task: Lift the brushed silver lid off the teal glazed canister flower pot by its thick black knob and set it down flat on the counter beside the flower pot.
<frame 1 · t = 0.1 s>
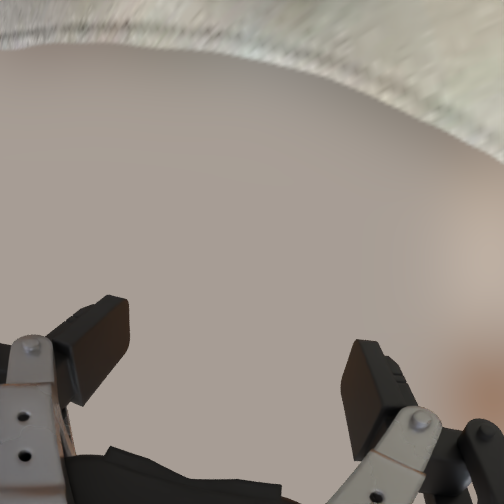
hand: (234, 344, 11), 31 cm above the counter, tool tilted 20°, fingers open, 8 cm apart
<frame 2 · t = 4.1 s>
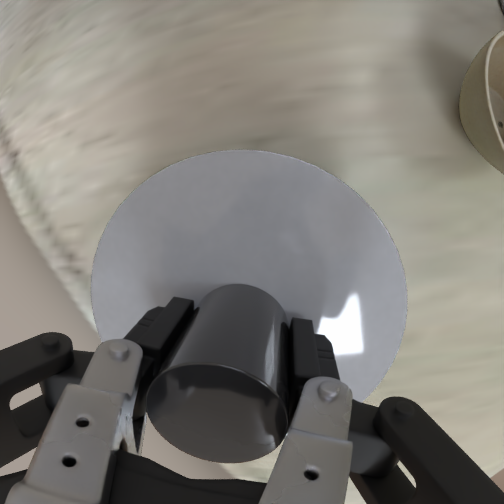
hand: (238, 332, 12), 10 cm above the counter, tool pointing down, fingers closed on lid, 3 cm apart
lid: (242, 321, 12), point 10 cm above the counter, touching canister, gripper
flower pot: (483, 119, 17), on the counter
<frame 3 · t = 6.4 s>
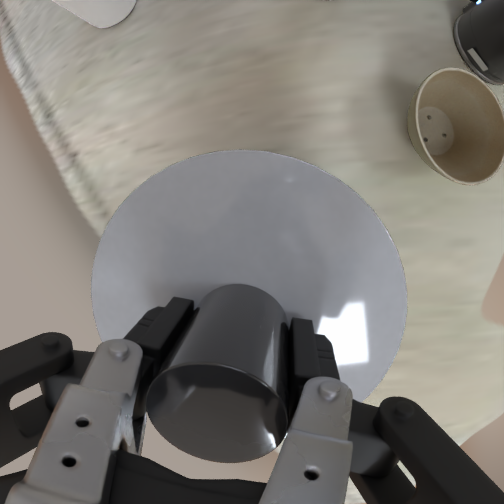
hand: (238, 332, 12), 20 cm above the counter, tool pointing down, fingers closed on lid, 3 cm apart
lid: (242, 321, 12), point 19 cm above the counter, touching gripper
flower pot: (430, 132, 27), on the counter
can: (114, 7, 26), on the counter
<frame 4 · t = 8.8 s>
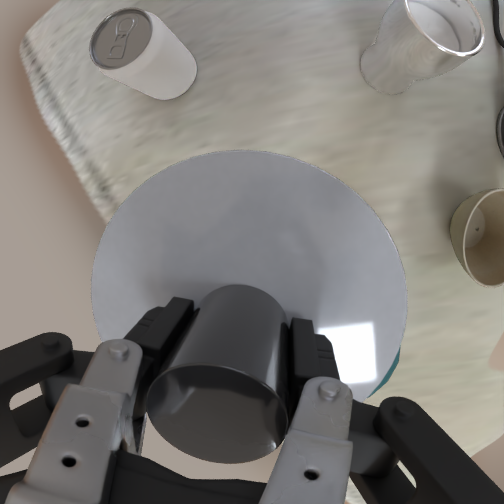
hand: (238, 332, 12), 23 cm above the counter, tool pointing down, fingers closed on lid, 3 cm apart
lid: (242, 321, 12), point 22 cm above the counter, touching gripper
flower pot: (466, 225, 31), on the counter
beer glass: (386, 69, 28), on the counter
can: (170, 74, 30), on the counter
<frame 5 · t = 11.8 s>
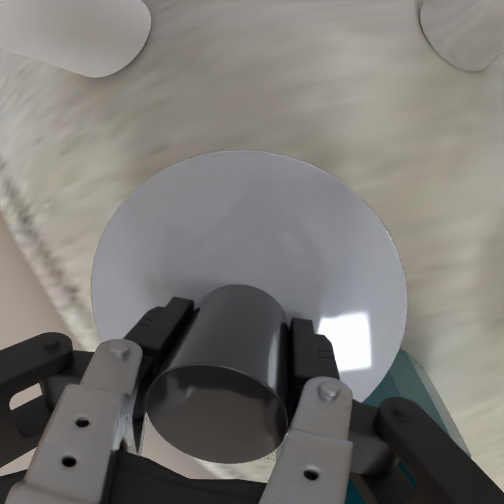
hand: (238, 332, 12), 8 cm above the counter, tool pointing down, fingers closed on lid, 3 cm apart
canister: (355, 406, 21), on the counter
lid: (242, 321, 12), point 7 cm above the counter, touching gripper
beer glass: (456, 33, 14), on the counter
can: (112, 37, 17), on the counter
when the fingers open (1 cm above the counter, at t = 13.8 s): lid stays where it is, point 1 cm above the counter.
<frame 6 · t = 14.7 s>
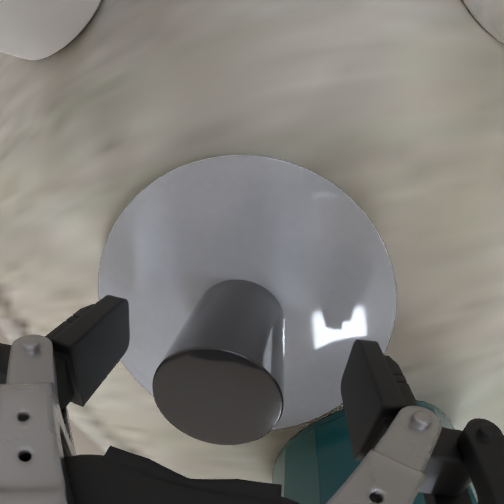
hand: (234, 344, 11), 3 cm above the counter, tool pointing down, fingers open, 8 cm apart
canister: (366, 464, 16), on the counter
lid: (241, 315, 13), point 1 cm above the counter
beer glass: (496, 4, 9), on the counter
can: (61, 11, 11), on the counter
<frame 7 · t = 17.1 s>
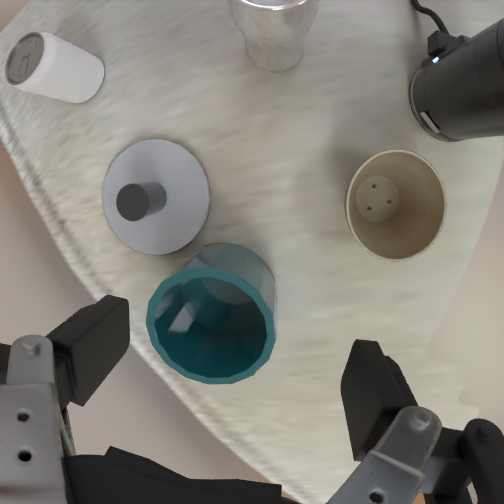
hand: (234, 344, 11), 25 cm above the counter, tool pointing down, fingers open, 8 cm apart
canister: (225, 292, 37), on the counter
lid: (153, 197, 34), point 1 cm above the counter
flower pot: (376, 199, 33), on the counter
beer glass: (275, 48, 30), on the counter
can: (85, 80, 32), on the counter
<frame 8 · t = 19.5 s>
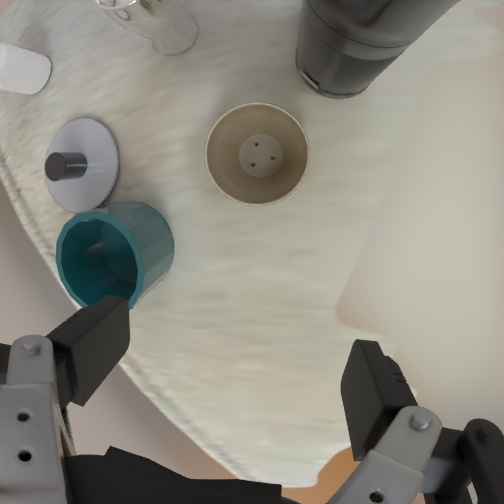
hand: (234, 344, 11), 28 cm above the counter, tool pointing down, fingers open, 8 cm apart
canister: (133, 245, 40), on the counter
lid: (79, 165, 38), point 1 cm above the counter
flower pot: (261, 156, 36), on the counter
beer glass: (175, 35, 33), on the counter
can: (38, 75, 35), on the counter
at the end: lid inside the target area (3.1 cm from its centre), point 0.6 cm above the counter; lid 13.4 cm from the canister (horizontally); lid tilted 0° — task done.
